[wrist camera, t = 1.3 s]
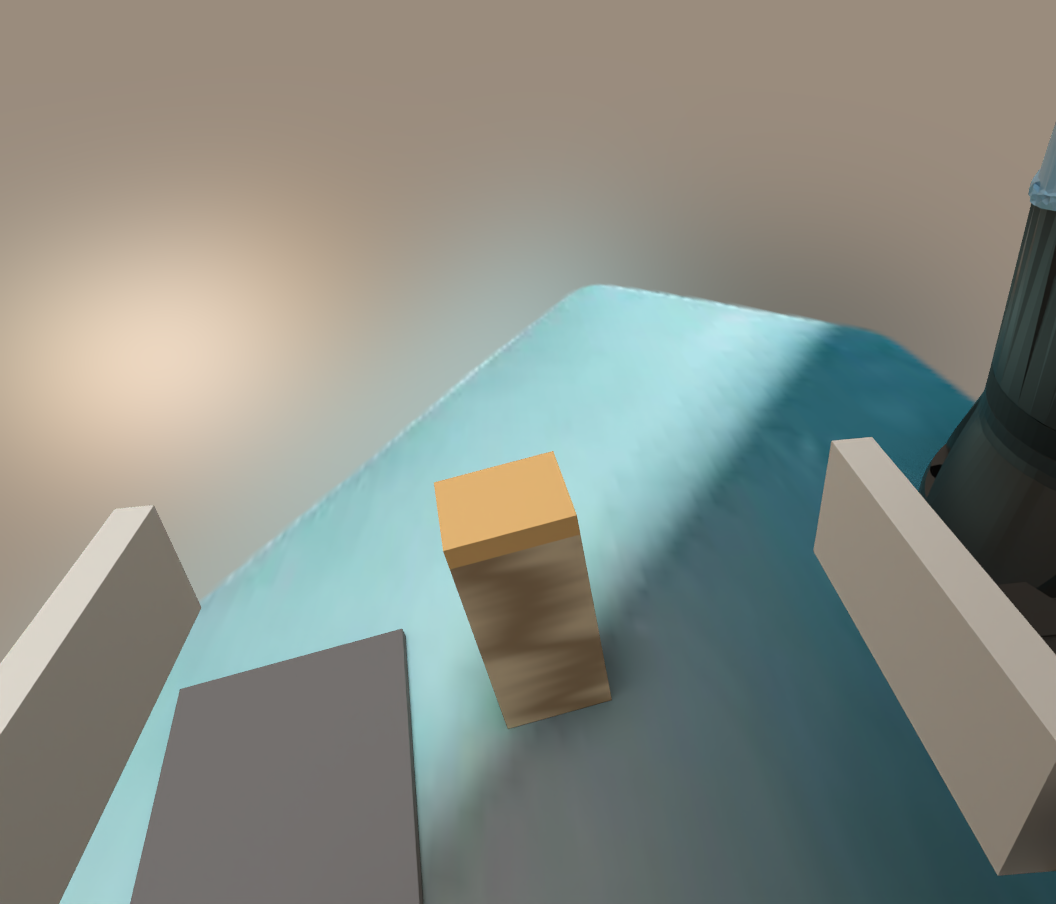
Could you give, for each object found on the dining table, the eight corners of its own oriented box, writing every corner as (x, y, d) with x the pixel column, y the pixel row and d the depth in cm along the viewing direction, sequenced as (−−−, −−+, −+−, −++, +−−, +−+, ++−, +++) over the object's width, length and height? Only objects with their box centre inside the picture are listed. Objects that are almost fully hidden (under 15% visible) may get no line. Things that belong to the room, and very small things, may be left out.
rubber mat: (405, 635, 39) (402, 628, 38) (433, 1052, 24) (428, 1048, 24) (185, 695, 38) (180, 689, 38) (82, 1156, 24) (72, 1153, 23)
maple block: (589, 632, 37) (553, 451, 29) (611, 699, 33) (576, 515, 26) (494, 658, 36) (433, 482, 29) (507, 729, 33) (443, 551, 26)
